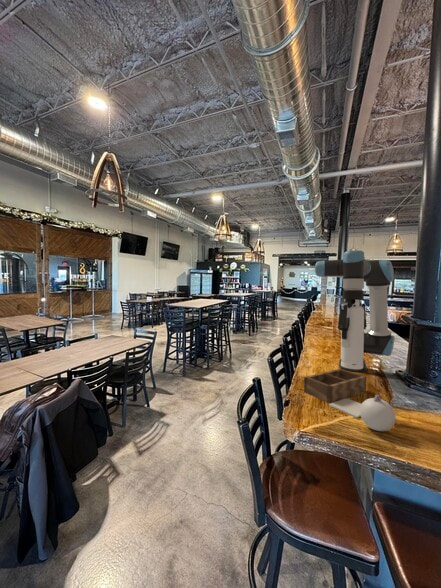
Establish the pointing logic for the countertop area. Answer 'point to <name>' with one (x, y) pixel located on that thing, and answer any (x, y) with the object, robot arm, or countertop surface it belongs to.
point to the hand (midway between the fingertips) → (352, 346)
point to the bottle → (354, 339)
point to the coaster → (348, 407)
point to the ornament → (377, 414)
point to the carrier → (334, 385)
